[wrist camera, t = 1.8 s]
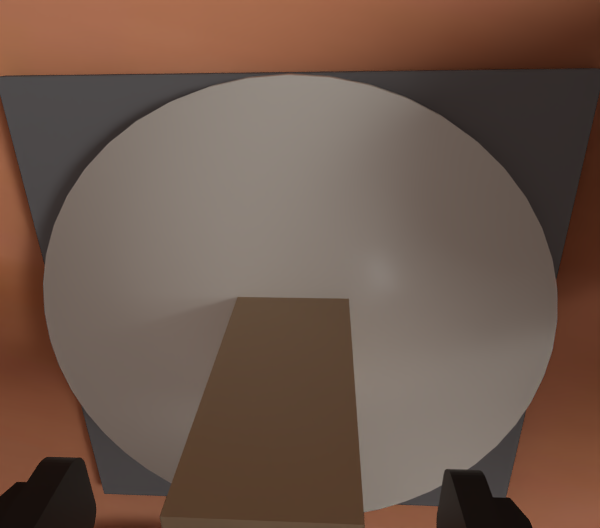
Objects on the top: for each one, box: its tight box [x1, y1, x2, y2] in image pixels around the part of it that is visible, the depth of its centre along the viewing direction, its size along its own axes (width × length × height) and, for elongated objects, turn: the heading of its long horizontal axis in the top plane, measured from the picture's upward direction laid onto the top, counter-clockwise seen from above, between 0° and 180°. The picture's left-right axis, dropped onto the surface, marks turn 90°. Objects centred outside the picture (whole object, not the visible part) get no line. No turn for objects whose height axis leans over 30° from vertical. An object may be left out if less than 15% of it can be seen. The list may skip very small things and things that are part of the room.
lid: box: [43, 73, 557, 528], centre depth 13 cm, size 17×17×9 cm
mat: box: [0, 68, 600, 506], centre depth 17 cm, size 17×17×1 cm
